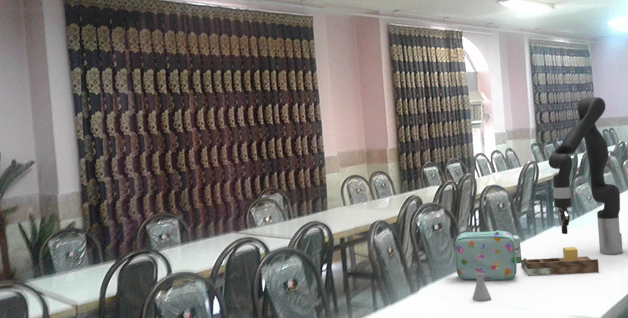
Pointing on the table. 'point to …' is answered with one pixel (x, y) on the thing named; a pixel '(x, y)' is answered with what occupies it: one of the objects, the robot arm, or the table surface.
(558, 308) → the table surface
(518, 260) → the ink box
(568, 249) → the block
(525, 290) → the table surface
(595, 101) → the robot arm
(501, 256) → the lunch box
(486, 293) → the flask
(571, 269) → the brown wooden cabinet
